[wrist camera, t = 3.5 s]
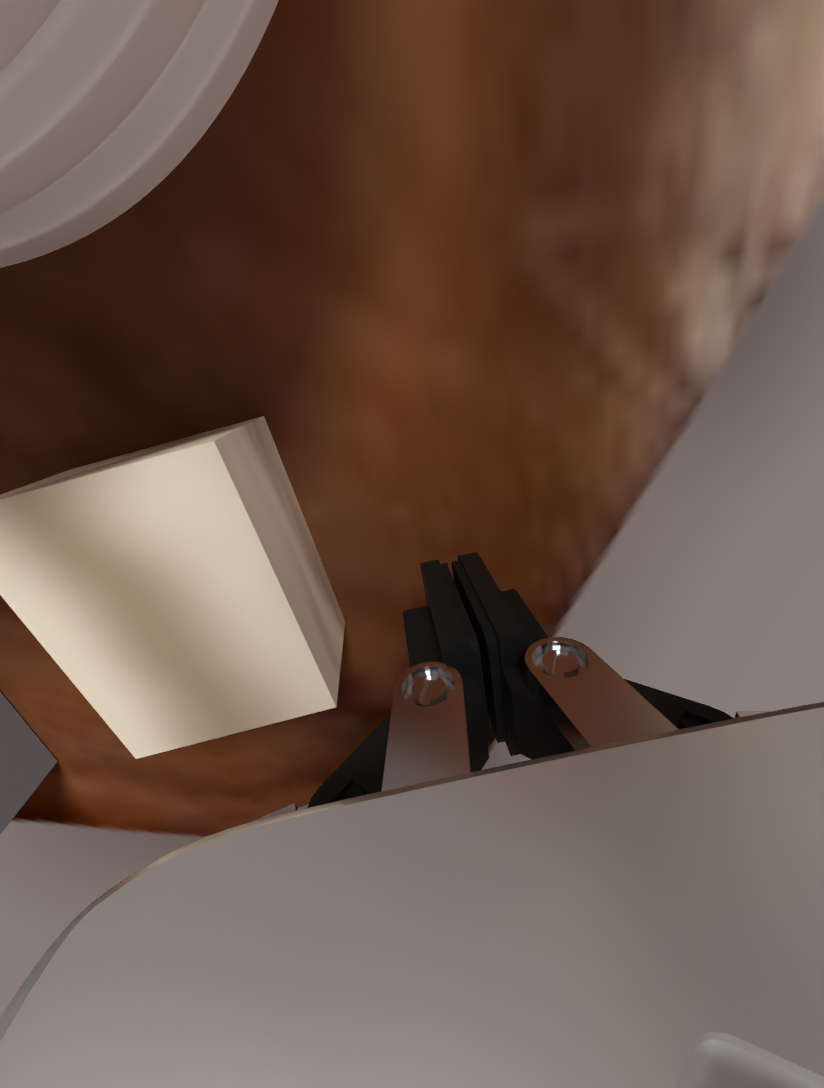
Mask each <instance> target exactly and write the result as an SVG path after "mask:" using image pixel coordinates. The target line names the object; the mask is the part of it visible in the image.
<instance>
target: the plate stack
mask: <svg viewBox="0 0 824 1088" xmlns="http://www.w3.org/2000/svg"><path fill="white" fill-rule="evenodd" d="M278 1H279V0H0V268H3V267H6V266H10V265H14V264H18V263H21V262H25V261H28V260H31V259H34V258H37V257H40V256H43V255H46V254H48V253H50V252H53V251H55V250H58V249H60V248H62V247H65V246H67V245H69V244H71V243H73V242H75V241H77V240H79V239H81V238H83V237H85V236H87V235H89V234H91V233H93V232H94V231H96V230H98V229H99V228H101V227H103V226H104V225H106V224H108V223H109V222H111V221H112V220H114V219H115V218H117V217H118V216H120V215H121V214H123V213H124V212H125V211H127V210H128V209H129V208H131V207H132V206H133V205H135V204H136V203H137V202H138V201H140V200H141V199H142V198H143V197H145V196H146V195H147V194H148V193H149V192H150V191H152V190H153V189H154V188H155V187H156V186H157V185H158V184H159V183H160V182H161V181H163V180H164V179H165V178H166V177H167V176H168V175H169V174H170V173H171V172H172V170H173V169H174V168H175V167H176V166H177V165H178V164H179V163H180V162H181V161H182V160H183V159H184V158H185V157H186V155H187V154H188V153H189V152H190V151H191V150H192V148H193V147H194V146H195V145H196V144H197V142H198V141H199V140H200V139H201V137H202V136H203V135H204V133H205V132H206V131H207V129H208V128H209V127H210V125H211V124H212V123H213V121H214V120H215V119H216V117H217V116H218V114H219V113H220V111H221V110H222V108H223V107H224V105H225V104H226V102H227V101H228V99H229V98H230V96H231V95H232V93H233V91H234V89H235V88H236V86H237V84H238V83H239V81H240V79H241V77H242V76H243V74H244V72H245V71H246V69H247V67H248V65H249V63H250V61H251V59H252V57H253V55H254V53H255V51H256V50H257V48H258V46H259V44H260V42H261V40H262V37H263V35H264V33H265V31H266V29H267V26H268V24H269V22H270V20H271V18H272V15H273V13H274V11H275V9H276V6H277V3H278Z"/></svg>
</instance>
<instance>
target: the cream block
mask: <svg viewBox="0 0 824 1088" xmlns="http://www.w3.org/2000/svg"><path fill="white" fill-rule="evenodd" d="M0 595H1V596H2V598H3V599H4V600H5V601H6V602H7V604H8V605H9V606H10V607H11V608H12V610H13V611H14V612H15V613H16V615H17V616H18V617H19V618H20V619H21V621H22V622H23V623H24V624H25V625H26V627H27V628H28V629H29V630H30V631H31V633H32V634H33V635H34V636H35V637H36V639H37V640H38V641H39V642H40V644H41V645H42V646H43V647H44V648H45V650H46V651H47V652H48V653H49V654H50V656H51V657H52V658H53V659H54V660H55V662H56V663H57V664H58V665H59V667H60V668H61V669H62V670H63V671H64V673H65V674H66V675H67V676H68V677H69V679H70V680H71V681H72V682H73V683H74V685H75V686H76V687H77V688H78V689H79V691H80V692H81V693H82V694H83V696H84V697H85V698H86V699H87V700H88V702H89V703H90V704H91V705H92V706H93V708H94V709H95V710H96V711H97V712H98V714H99V715H100V716H101V717H102V719H103V720H104V721H105V722H106V723H107V725H108V726H109V727H110V728H111V729H112V731H113V732H114V733H115V734H116V735H117V737H118V738H119V739H120V740H121V741H122V743H123V744H124V745H125V746H126V748H127V749H128V750H129V751H130V752H131V754H132V755H133V756H134V757H135V758H136V759H137V758H141V757H145V756H149V755H153V754H157V753H161V752H165V751H168V750H172V749H176V748H180V747H184V746H188V745H192V744H196V743H199V742H203V741H207V740H211V739H215V738H219V737H223V736H227V735H231V734H234V733H238V732H242V731H246V730H250V729H254V728H258V727H262V726H265V725H269V724H273V723H277V722H281V721H285V720H289V719H293V718H297V717H300V716H304V715H308V714H312V713H316V712H320V711H324V710H328V709H331V708H335V707H336V706H337V696H338V687H339V677H340V668H341V658H342V649H343V639H344V630H345V620H344V617H343V615H342V612H341V610H340V607H339V605H338V602H337V600H336V597H335V595H334V592H333V589H332V587H331V584H330V582H329V579H328V577H327V574H326V572H325V569H324V567H323V564H322V562H321V559H320V557H319V554H318V552H317V549H316V546H315V544H314V541H313V539H312V536H311V534H310V531H309V529H308V526H307V524H306V521H305V519H304V516H303V514H302V511H301V509H300V506H299V503H298V501H297V498H296V496H295V493H294V491H293V488H292V486H291V483H290V481H289V478H288V476H287V473H286V471H285V468H284V466H283V463H282V460H281V458H280V455H279V453H278V450H277V448H276V445H275V443H274V440H273V438H272V435H271V433H270V430H269V428H268V425H267V422H266V420H265V417H264V416H262V417H259V418H255V419H251V420H248V421H244V422H240V423H237V424H233V425H229V426H226V427H222V428H219V429H215V430H211V431H208V432H204V433H200V434H197V435H193V436H190V437H186V438H182V439H179V440H175V441H171V442H168V443H164V444H160V445H157V446H153V447H150V448H146V449H142V450H139V451H135V452H131V453H128V454H124V455H121V456H117V457H113V458H110V459H106V460H102V461H99V462H95V463H91V464H88V465H84V466H81V467H77V468H73V469H70V470H67V471H65V472H62V473H59V474H56V475H53V476H51V477H48V478H45V479H42V480H39V481H37V482H34V483H31V484H28V485H25V486H23V487H20V488H17V489H14V490H11V491H8V492H6V493H3V494H0Z"/></svg>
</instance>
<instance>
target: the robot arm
mask: <svg viewBox="0 0 824 1088" xmlns="http://www.w3.org/2000/svg"><path fill="white" fill-rule="evenodd" d="M420 566H421V572H422V577H423V583H424V588H425V594H426V600H427V605H428V606H426V607H421V608H416V609H411V610H406V611H403V617H404V625H405V632H406V639H407V647H408V654H409V661H410V668H409V669H408V670H406V671H405V672H404V673H402V675H401V676H400V677H399V678H398V680H397V682H396V685H395V688H394V695H393V703H392V711H391V714H390V715H389V716H388V717H387V718H386V719H385V720H384V721H383V722H382V723H381V724H380V725H379V726H378V727H377V728H376V729H375V730H374V731H373V732H372V733H371V734H370V735H369V736H368V737H367V739H366V740H365V741H364V742H363V743H362V744H361V745H360V746H359V747H358V748H357V749H356V750H355V751H354V752H353V753H352V754H351V755H350V756H349V757H348V758H347V759H346V760H345V761H344V762H343V763H342V764H341V766H340V767H339V768H338V769H337V770H336V771H335V772H334V773H333V774H332V775H331V776H330V777H329V778H328V779H327V780H326V781H325V782H324V783H323V784H322V785H321V786H320V787H319V789H318V790H317V791H316V793H315V794H314V795H313V797H312V798H311V800H310V803H309V804H307V805H305V806H302V807H300V808H298V809H297V807H296V804H295V803H294V804H291V805H289V806H287V807H284V808H282V809H280V810H277V811H275V812H273V813H271V814H268V815H266V816H264V817H261V818H259V819H257V820H254V821H252V822H250V823H246V824H242V825H239V826H236V827H233V828H230V829H227V830H224V831H221V832H218V833H215V834H213V835H210V836H207V837H204V838H202V839H199V840H197V841H195V842H193V843H191V844H188V845H186V846H184V847H182V848H180V849H177V850H175V851H173V852H171V853H169V854H167V855H165V856H163V857H161V858H160V859H158V860H156V861H154V862H153V863H151V864H149V865H147V866H146V867H144V868H142V869H140V870H139V871H137V872H135V873H133V874H132V875H130V876H128V877H127V878H126V879H124V880H123V881H121V882H120V883H118V884H117V885H115V886H114V887H112V888H111V889H110V890H108V891H107V892H106V893H104V894H103V895H102V896H100V897H99V898H98V899H96V900H95V901H94V902H92V903H91V904H90V905H89V906H88V907H87V908H86V909H85V910H84V911H82V912H81V913H80V915H78V916H77V917H76V918H75V919H74V920H73V921H72V922H71V923H70V924H69V925H68V926H67V927H66V929H65V930H64V931H63V932H62V933H61V934H60V936H59V937H58V938H57V939H56V940H55V941H54V942H53V944H52V945H51V946H50V948H49V949H48V950H47V952H46V953H45V954H44V955H43V957H42V958H41V959H40V960H39V962H38V963H37V964H36V966H35V967H34V969H33V970H32V971H31V973H30V974H29V976H28V977H27V978H26V980H25V981H24V983H23V984H22V985H21V987H20V988H19V990H18V991H17V993H16V994H15V996H14V997H13V999H12V1000H11V1002H10V1003H9V1005H8V1006H7V1008H6V1010H5V1011H4V1012H3V1014H2V1015H1V1017H0V1088H824V702H821V703H815V704H809V705H803V706H797V707H792V708H787V709H782V710H777V711H765V712H764V711H762V712H761V711H759V712H758V711H757V712H756V711H755V712H754V711H753V712H736V715H735V718H732V717H731V716H729V715H728V714H726V713H724V712H722V711H720V710H717V709H715V708H712V707H710V706H707V705H704V704H701V703H698V702H695V701H691V700H688V699H685V698H682V697H679V696H675V695H673V694H669V693H666V692H663V691H660V690H657V689H654V688H650V687H648V686H644V685H641V684H638V683H635V682H632V681H629V680H626V679H623V678H622V677H621V676H619V674H617V673H616V672H615V671H614V670H613V669H612V668H611V667H610V666H609V665H608V664H607V663H605V662H604V661H603V660H602V659H601V658H600V657H599V656H598V655H597V654H596V653H594V652H593V651H592V650H591V649H590V648H589V647H587V646H586V645H584V644H583V643H581V642H578V641H576V640H573V639H568V638H563V637H550V638H548V636H547V635H546V633H545V632H544V630H543V629H542V628H541V626H540V625H539V623H538V622H537V620H536V619H535V617H534V616H533V614H532V613H531V611H530V610H529V609H528V607H527V606H526V604H525V603H524V601H523V600H522V598H521V597H520V595H519V594H518V592H517V591H516V590H514V589H512V590H507V591H502V592H501V591H500V589H499V588H498V586H497V585H496V583H495V581H494V580H493V578H492V576H491V575H490V573H489V571H488V570H487V568H486V566H485V565H484V563H483V561H482V560H481V558H480V557H479V555H478V553H477V552H475V553H470V554H465V555H460V556H458V561H455V562H452V569H453V576H454V580H453V577H452V575H451V573H450V570H449V568H448V565H447V563H444V564H440V562H439V560H434V561H429V562H424V563H420ZM488 717H489V720H490V723H491V725H492V728H493V731H494V734H495V737H496V740H497V742H498V743H499V742H503V741H505V742H506V744H507V747H508V750H509V753H510V755H511V756H512V755H517V754H522V755H524V756H526V757H528V758H530V759H532V760H528V761H523V762H518V763H514V764H509V765H504V766H499V767H495V768H490V769H485V770H481V769H482V767H483V766H484V764H485V763H486V761H487V760H488V758H489V754H488V747H487V745H489V744H491V736H490V728H489V720H488Z"/></svg>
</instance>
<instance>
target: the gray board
mask: <svg viewBox="0 0 824 1088" xmlns="http://www.w3.org/2000/svg"><path fill="white" fill-rule="evenodd" d="M57 762H58V761H57V760H56V759H55V758H54V757H53V755H52V754H51V753H50V752H49V750H48V749H47V748H46V747H45V746H44V744H43V743H42V742H41V741H40V739H39V738H38V737H37V736H36V735H35V733H34V732H33V731H32V730H31V728H30V727H29V726H28V725H27V724H26V722H25V721H24V720H23V719H22V717H21V716H20V715H19V714H18V713H17V711H16V710H15V709H14V708H13V706H12V705H11V704H10V703H9V702H8V700H7V699H6V698H5V697H4V695H3V694H2V693H1V692H0V834H1V833H2V831H3V830H4V829H5V828H6V826H7V825H8V824H9V823H10V821H11V820H12V819H13V818H14V816H15V815H16V814H17V812H18V811H19V810H20V809H21V807H22V806H23V805H24V804H25V802H26V801H27V800H28V798H29V797H30V796H31V795H32V793H33V792H34V791H35V790H36V788H37V787H38V786H39V785H40V783H41V782H42V781H43V779H44V778H45V777H46V776H47V774H48V773H49V772H50V771H51V769H52V768H53V767H54V765H55V764H56V763H57Z"/></svg>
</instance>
